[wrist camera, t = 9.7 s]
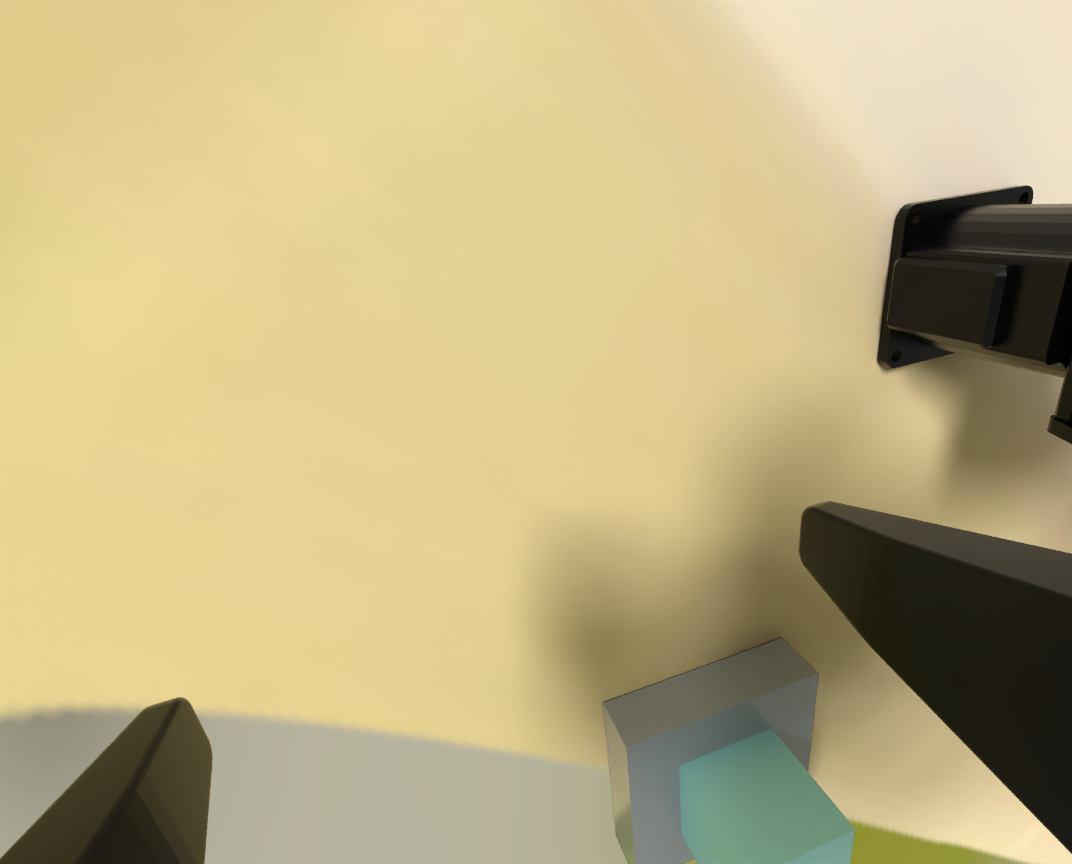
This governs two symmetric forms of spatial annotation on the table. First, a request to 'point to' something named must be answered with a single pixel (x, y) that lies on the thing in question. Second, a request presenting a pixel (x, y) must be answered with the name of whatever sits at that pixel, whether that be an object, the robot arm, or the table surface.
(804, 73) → the table surface
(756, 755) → the cube
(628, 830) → the tile
